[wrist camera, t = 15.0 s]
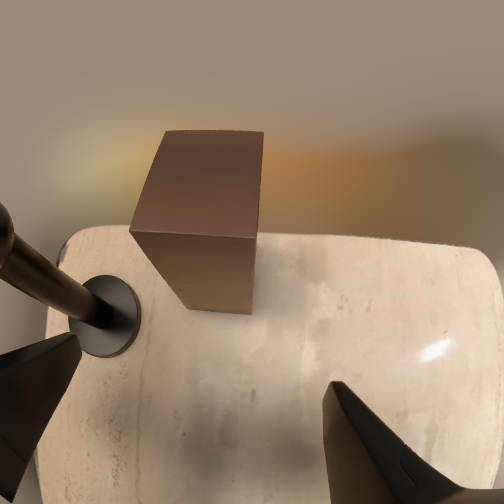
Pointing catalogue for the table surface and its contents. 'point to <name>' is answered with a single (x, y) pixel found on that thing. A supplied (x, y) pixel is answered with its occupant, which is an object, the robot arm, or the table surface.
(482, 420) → the table surface
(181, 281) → the walnut block
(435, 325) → the table surface
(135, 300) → the edge post
